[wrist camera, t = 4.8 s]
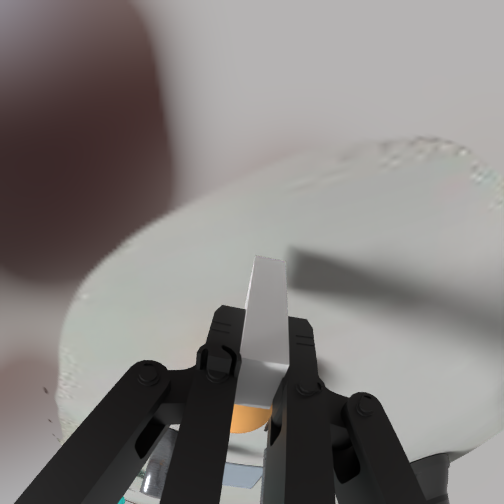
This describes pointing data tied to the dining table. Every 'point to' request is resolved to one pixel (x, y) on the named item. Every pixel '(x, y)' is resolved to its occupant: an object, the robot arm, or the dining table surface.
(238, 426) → the ball
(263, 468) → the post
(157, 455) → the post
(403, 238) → the dining table surface
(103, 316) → the dining table surface
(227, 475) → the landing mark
